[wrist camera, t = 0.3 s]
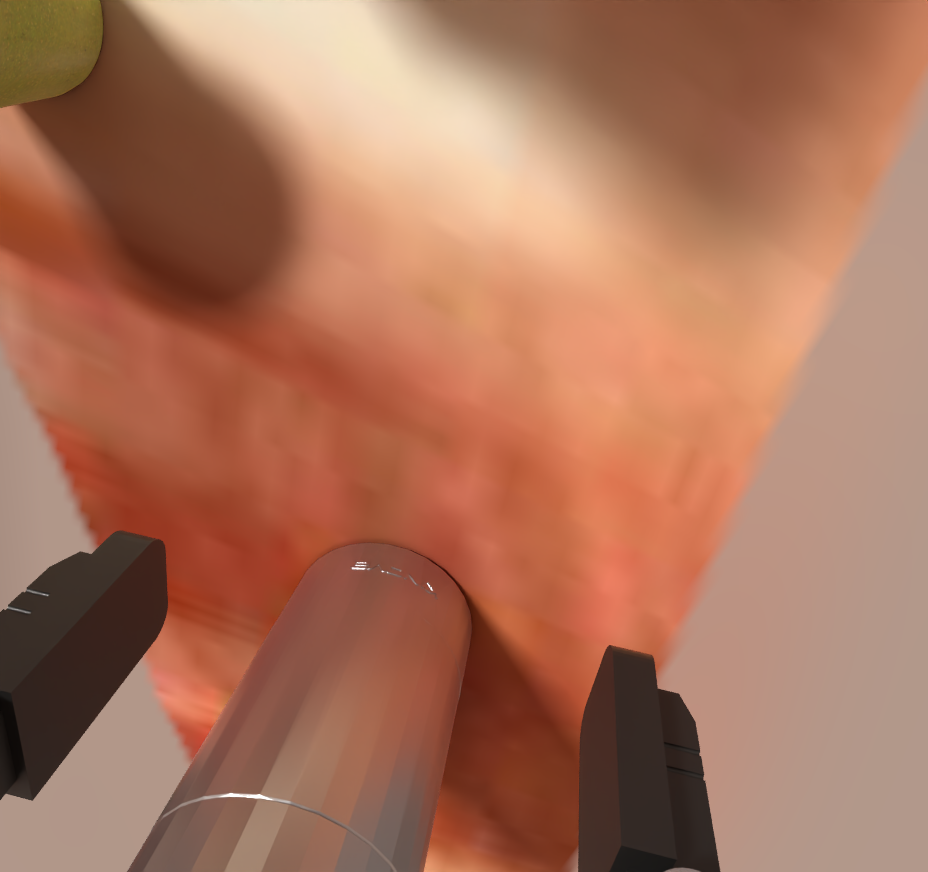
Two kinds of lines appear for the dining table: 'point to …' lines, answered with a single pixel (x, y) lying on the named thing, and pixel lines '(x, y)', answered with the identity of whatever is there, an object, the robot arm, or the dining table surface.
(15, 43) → the plant pot
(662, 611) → the dining table surface
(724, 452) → the dining table surface
